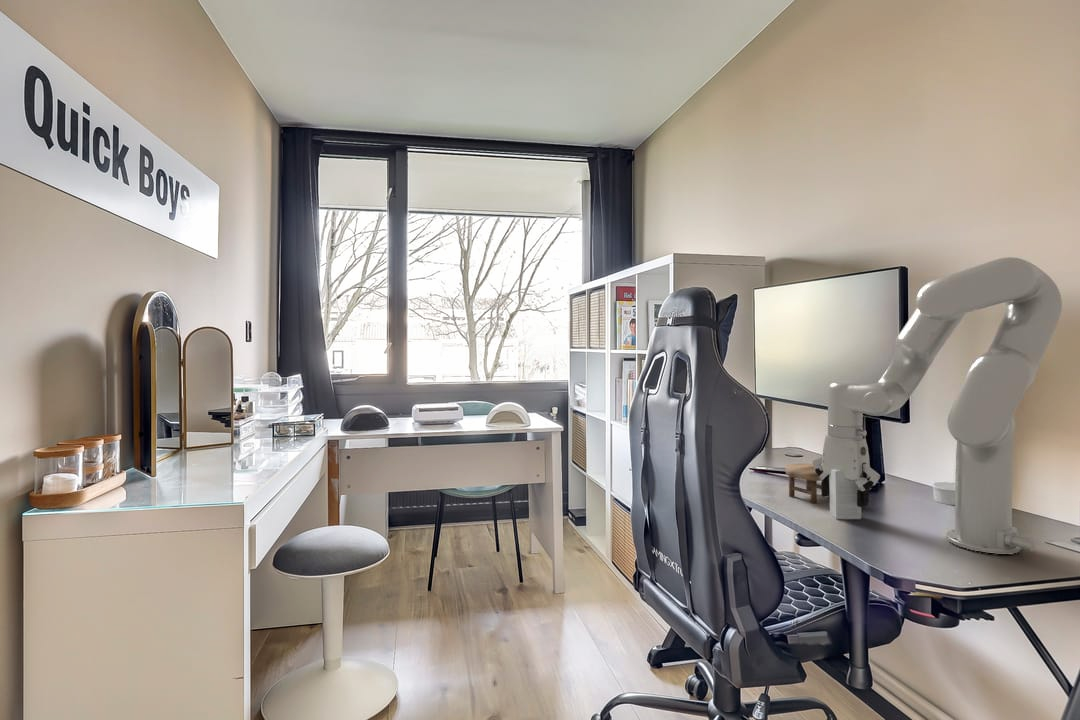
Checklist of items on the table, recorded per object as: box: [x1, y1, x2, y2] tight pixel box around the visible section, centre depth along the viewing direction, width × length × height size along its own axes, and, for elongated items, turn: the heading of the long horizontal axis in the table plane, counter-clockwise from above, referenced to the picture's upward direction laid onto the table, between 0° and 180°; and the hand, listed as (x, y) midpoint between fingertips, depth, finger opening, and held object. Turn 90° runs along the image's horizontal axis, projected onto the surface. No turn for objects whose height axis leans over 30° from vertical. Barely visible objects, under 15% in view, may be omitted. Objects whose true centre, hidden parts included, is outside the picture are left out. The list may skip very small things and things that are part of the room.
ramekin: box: [931, 481, 955, 506], centre depth 152 cm, size 9×9×4 cm
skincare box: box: [829, 469, 862, 520], centre depth 141 cm, size 6×4×12 cm
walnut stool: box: [785, 463, 830, 505], centre depth 158 cm, size 13×13×8 cm
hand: (844, 500), depth 141 cm, fingers open, 9 cm apart
